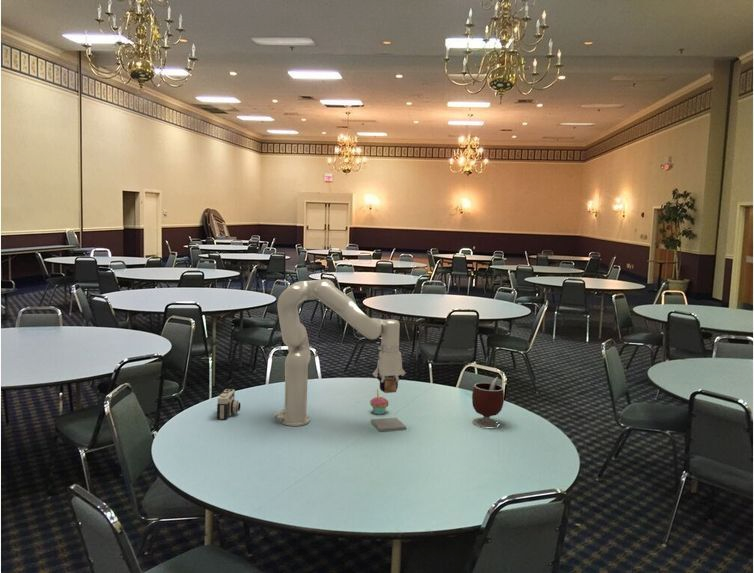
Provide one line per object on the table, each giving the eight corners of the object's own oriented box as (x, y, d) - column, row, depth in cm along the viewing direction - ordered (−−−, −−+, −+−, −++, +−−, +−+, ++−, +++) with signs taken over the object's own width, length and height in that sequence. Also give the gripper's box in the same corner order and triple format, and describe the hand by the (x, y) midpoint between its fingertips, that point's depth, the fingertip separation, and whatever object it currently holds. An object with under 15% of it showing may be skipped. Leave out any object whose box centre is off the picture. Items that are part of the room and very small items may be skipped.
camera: (235, 420, 251) (235, 398, 250) (216, 419, 251) (216, 397, 250) (242, 410, 265) (243, 388, 264) (224, 409, 265) (225, 388, 264)
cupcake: (380, 416, 265) (381, 391, 264) (365, 412, 270) (367, 387, 269) (391, 412, 272) (392, 387, 271) (377, 408, 277) (378, 383, 276)
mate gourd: (493, 431, 253) (496, 386, 251) (464, 423, 261) (467, 380, 259) (508, 422, 265) (511, 379, 263) (480, 415, 274) (483, 373, 271)
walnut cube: (385, 393, 249) (385, 381, 248) (381, 389, 253) (381, 378, 253) (396, 392, 250) (396, 380, 250) (391, 389, 255) (392, 377, 254)
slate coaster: (379, 431, 246) (380, 428, 246) (370, 422, 258) (370, 419, 258) (406, 429, 251) (406, 426, 250) (395, 420, 262) (396, 417, 262)
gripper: (373, 351, 244) (372, 394, 246) (411, 349, 249) (410, 391, 251) (368, 347, 251) (367, 389, 253) (405, 346, 256) (403, 386, 258)
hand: (388, 389), depth 252 cm, fingers closed on walnut cube, 5 cm apart
